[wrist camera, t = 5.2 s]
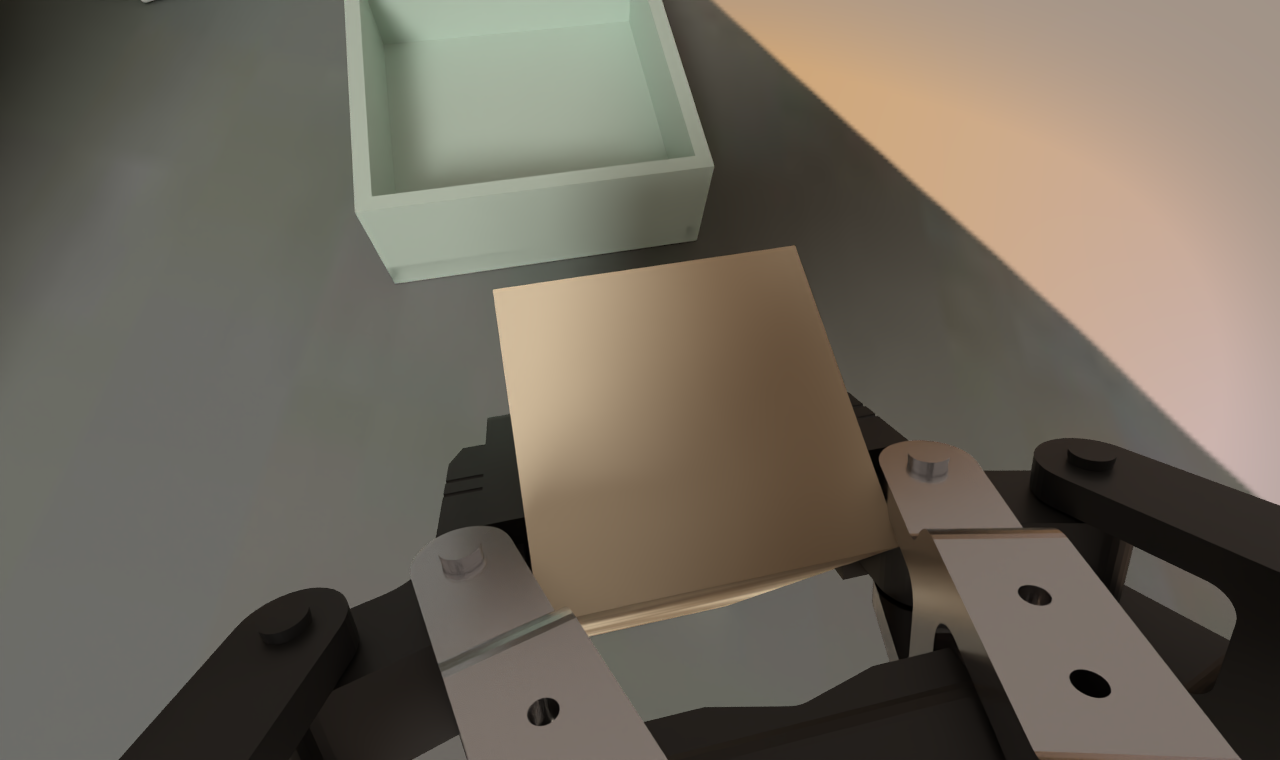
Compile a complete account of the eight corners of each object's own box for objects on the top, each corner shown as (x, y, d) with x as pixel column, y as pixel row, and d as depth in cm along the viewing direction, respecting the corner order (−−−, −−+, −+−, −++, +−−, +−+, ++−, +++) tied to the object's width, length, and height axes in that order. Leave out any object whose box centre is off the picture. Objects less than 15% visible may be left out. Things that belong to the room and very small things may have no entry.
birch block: (575, 639, 18) (539, 623, 7) (551, 487, 20) (492, 289, 9) (725, 606, 19) (901, 545, 8) (690, 461, 21) (795, 245, 10)
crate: (395, 283, 22) (354, 212, 19) (378, 58, 27) (342, -37, 23) (696, 240, 24) (714, 166, 20) (637, 32, 28) (642, -61, 24)
